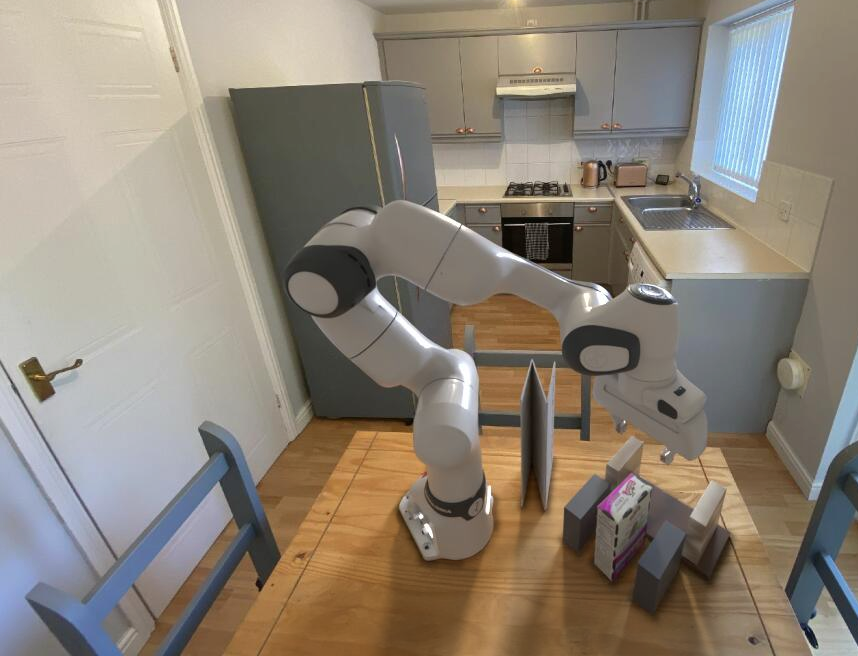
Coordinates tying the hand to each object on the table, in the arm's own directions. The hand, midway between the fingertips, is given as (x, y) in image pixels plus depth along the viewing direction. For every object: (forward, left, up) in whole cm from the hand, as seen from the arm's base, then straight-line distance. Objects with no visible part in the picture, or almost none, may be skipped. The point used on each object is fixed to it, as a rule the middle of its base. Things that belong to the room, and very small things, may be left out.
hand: (642, 445), depth 73 cm
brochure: (-24, +1, -29) cm, 38 cm away
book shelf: (+1, +12, -29) cm, 32 cm away
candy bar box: (-1, -1, -29) cm, 29 cm away
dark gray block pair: (-1, -1, -29) cm, 29 cm away
